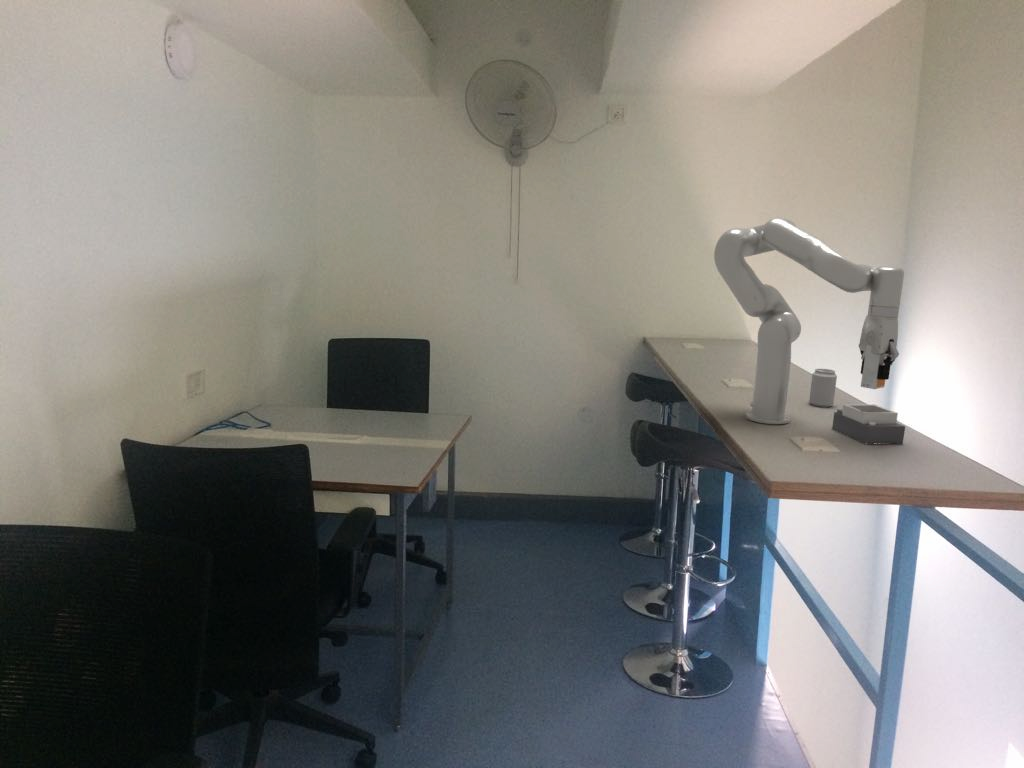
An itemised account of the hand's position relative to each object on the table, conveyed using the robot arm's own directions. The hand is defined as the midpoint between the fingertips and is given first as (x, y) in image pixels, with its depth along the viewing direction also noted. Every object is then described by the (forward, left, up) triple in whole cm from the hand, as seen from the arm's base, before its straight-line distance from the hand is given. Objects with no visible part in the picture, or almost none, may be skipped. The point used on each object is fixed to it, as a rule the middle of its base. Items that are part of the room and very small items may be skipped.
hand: (874, 376), depth 208 cm
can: (-37, +9, -18) cm, 42 cm away
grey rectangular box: (0, 0, -17) cm, 17 cm away
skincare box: (0, 0, -3) cm, 3 cm away
